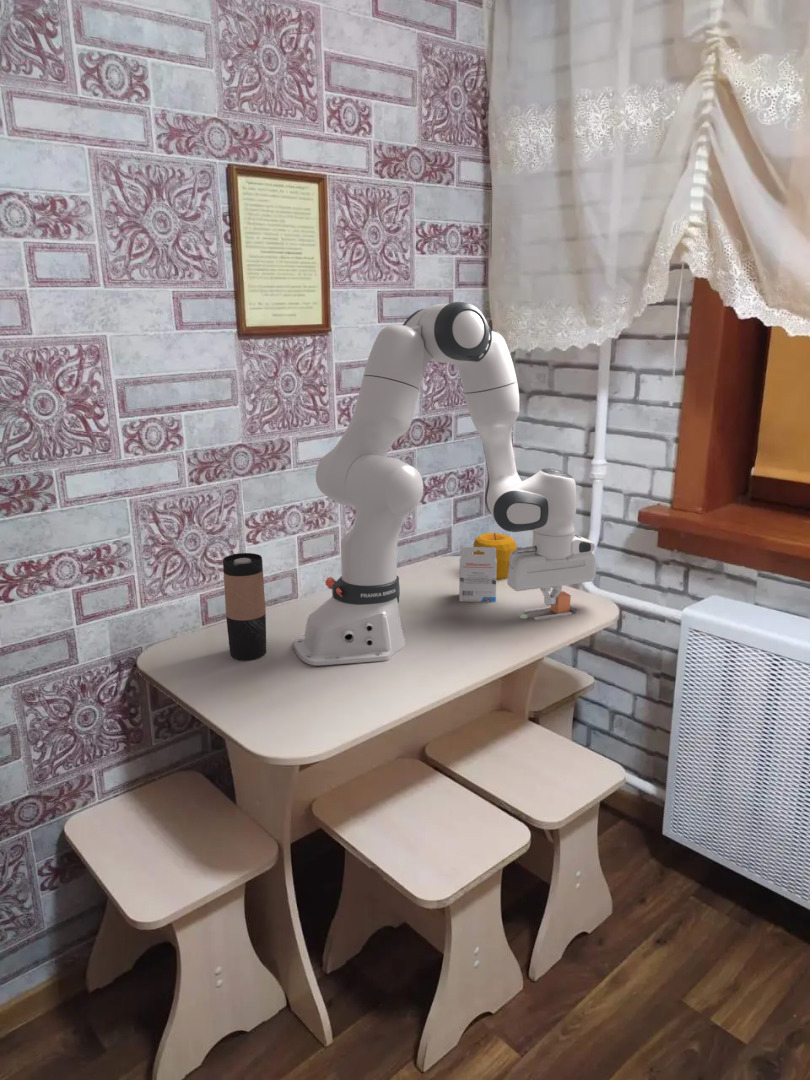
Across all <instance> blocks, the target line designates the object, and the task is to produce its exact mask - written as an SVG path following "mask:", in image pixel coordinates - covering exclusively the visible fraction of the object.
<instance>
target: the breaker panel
mask: <svg viewBox="0 0 810 1080" xmlns="http://www.w3.org/2000/svg"><path fill="white" fill-rule="evenodd" d="M546 610H551V605H549V606H544V607H537V608H529V609H524V610H523V612H524V613H525V614H521V615H520V616H519V618H520V619H528V617H529V616H528V615H527V614H530V613H535V612H536V613H537V612H541V611H546ZM576 614H577V609H575V608H574V607H572V606H570V612H566V613H559V614H557V613H553V614H546V615H539V616H534V617H533V619H534V620H535V621H541V620H546V619H547V620H548V619H553V618H557V617H563V616H569V615H576Z"/></svg>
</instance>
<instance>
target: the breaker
mask: <svg viewBox="0 0 810 1080" xmlns="http://www.w3.org/2000/svg"><path fill="white" fill-rule="evenodd" d="M571 597H572V596H571V594H569V593H567V592H565V591H563V590H561V592H560V593H559V595H558V596H557V598H556V605H550V606H551V609H550V610H551V611H552V612H554V614H559V613H566V612H570V607H571Z"/></svg>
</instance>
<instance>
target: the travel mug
mask: <svg viewBox="0 0 810 1080" xmlns="http://www.w3.org/2000/svg"><path fill="white" fill-rule="evenodd" d="M222 567H223V568H222V570H223V584H224V602H225V603H224V604H225V616H226V617H225V619H226V627H227V637H228V639H227V640H228V647H229V655H230V658H231V659H233V660H235V661H238V662H239V661H240V662H248V661H255V660H259V659H260V658H263V657H264V656H265V655H266V654H267V622H266V621H267V614H266V612H267V610H266V598H265V585H264V583H265V582H264V581H265V580H264V568H263V557H262V556H261V555H260V554H257V553H254V552H253V553H252V552H246V553H245V552H240V553H232V554H231V555H230V554H229V555H226V556H225V557H224V558H223V559H222Z"/></svg>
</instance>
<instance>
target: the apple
mask: <svg viewBox="0 0 810 1080" xmlns="http://www.w3.org/2000/svg"><path fill="white" fill-rule="evenodd" d="M472 547H495V548H496V561H497V564H496V581H498V580H503V579H508V571H509V566H510V564H509V560H510V554H511V553H512V552H513V551H515V550H516V549H517V548H518V546H517V543H516V540H515V539H513V538H512V537H511V536H509V535H507V534H503V533H498V532H485V533H482V534H480V535H479V536H477V537H475V539H474V542H473V546H472ZM515 553H516V552H515ZM472 554H474V555H484V554H485V553H484V552H480V551H477V552H472Z"/></svg>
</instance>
